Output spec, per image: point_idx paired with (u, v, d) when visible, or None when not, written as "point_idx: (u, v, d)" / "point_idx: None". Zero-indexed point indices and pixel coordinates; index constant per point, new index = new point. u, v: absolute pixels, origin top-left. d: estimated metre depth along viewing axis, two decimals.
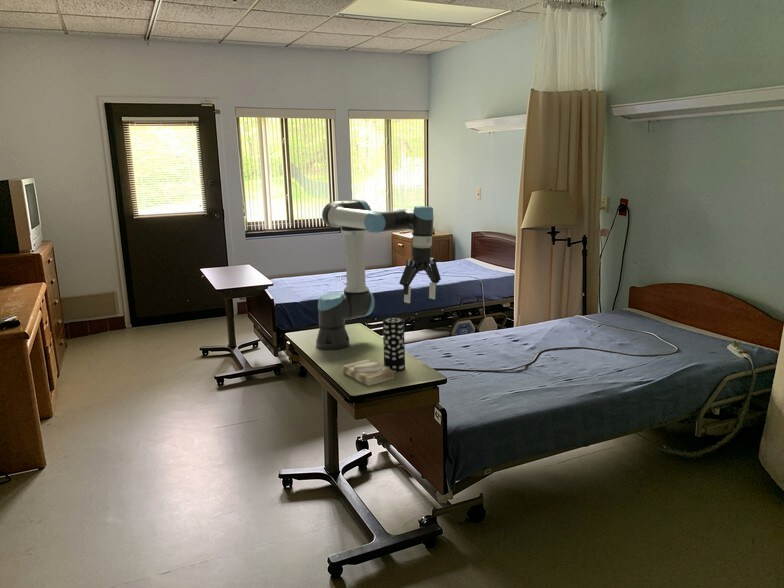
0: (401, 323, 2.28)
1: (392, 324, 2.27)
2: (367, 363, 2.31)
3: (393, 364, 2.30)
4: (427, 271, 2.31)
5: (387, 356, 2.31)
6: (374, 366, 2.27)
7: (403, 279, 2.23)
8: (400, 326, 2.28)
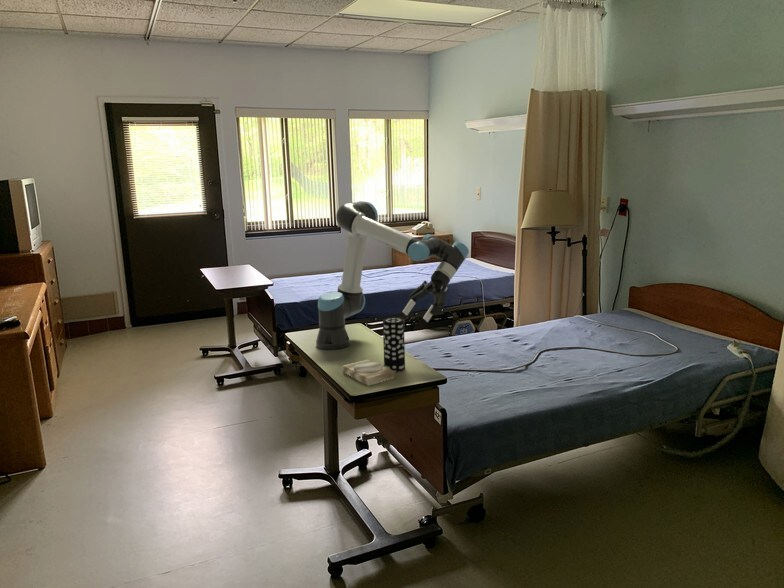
0: (401, 323, 2.28)
1: (392, 324, 2.27)
2: (367, 363, 2.31)
3: (393, 364, 2.30)
4: (424, 293, 2.42)
5: (387, 356, 2.31)
6: (374, 366, 2.27)
7: (442, 302, 2.32)
8: (400, 326, 2.28)
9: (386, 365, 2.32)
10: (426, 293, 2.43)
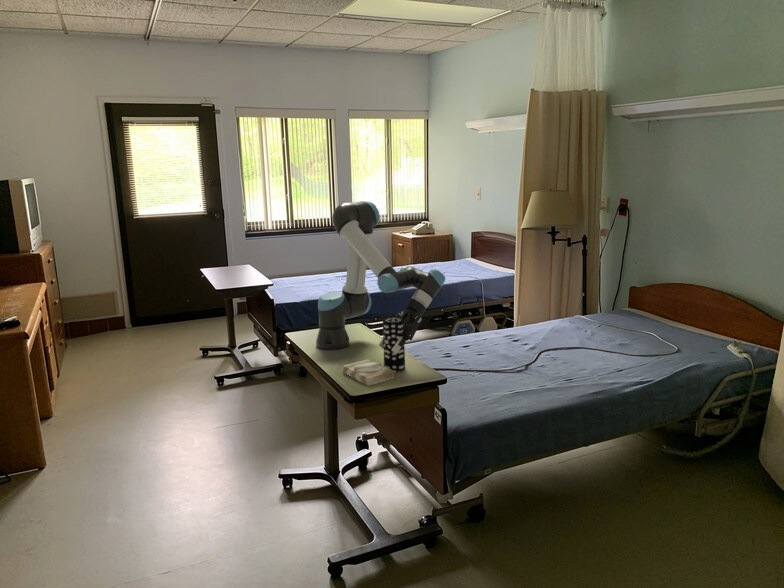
0: (401, 323, 2.28)
1: (392, 324, 2.27)
2: (367, 363, 2.31)
3: (393, 364, 2.30)
4: None
5: (387, 356, 2.31)
6: (374, 366, 2.27)
7: (412, 334, 2.28)
8: (400, 325, 2.28)
9: (386, 365, 2.32)
10: None
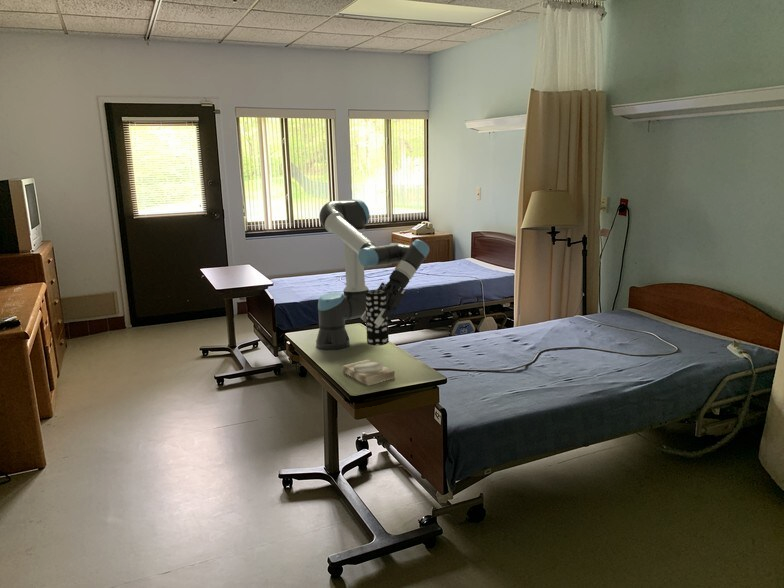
0: (384, 294, 2.21)
1: (375, 295, 2.19)
2: (367, 363, 2.31)
3: (376, 337, 2.23)
4: None
5: (370, 329, 2.23)
6: (374, 366, 2.27)
7: (395, 306, 2.20)
8: (383, 297, 2.20)
9: (369, 338, 2.24)
10: None
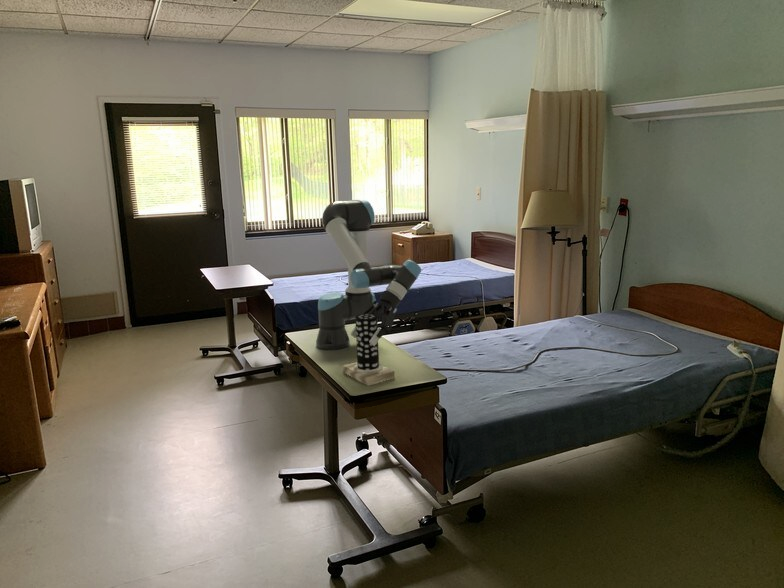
0: (374, 319, 2.21)
1: (364, 320, 2.19)
2: None
3: (366, 362, 2.23)
4: None
5: (360, 354, 2.23)
6: None
7: (390, 325, 2.19)
8: (373, 322, 2.20)
9: (359, 363, 2.24)
10: (375, 314, 2.29)
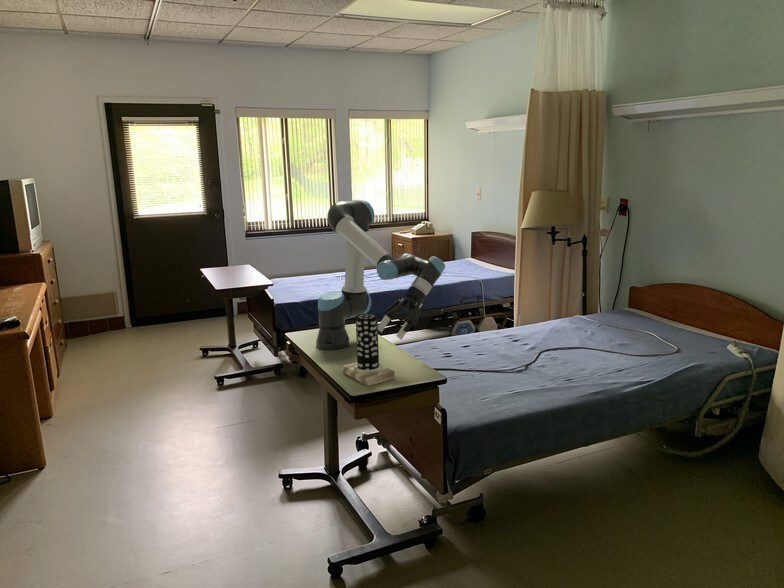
0: (374, 319, 2.21)
1: (365, 320, 2.19)
2: None
3: (366, 362, 2.23)
4: (399, 309, 2.36)
5: (360, 354, 2.23)
6: None
7: (416, 319, 2.25)
8: (373, 322, 2.20)
9: (359, 363, 2.24)
10: (401, 309, 2.36)
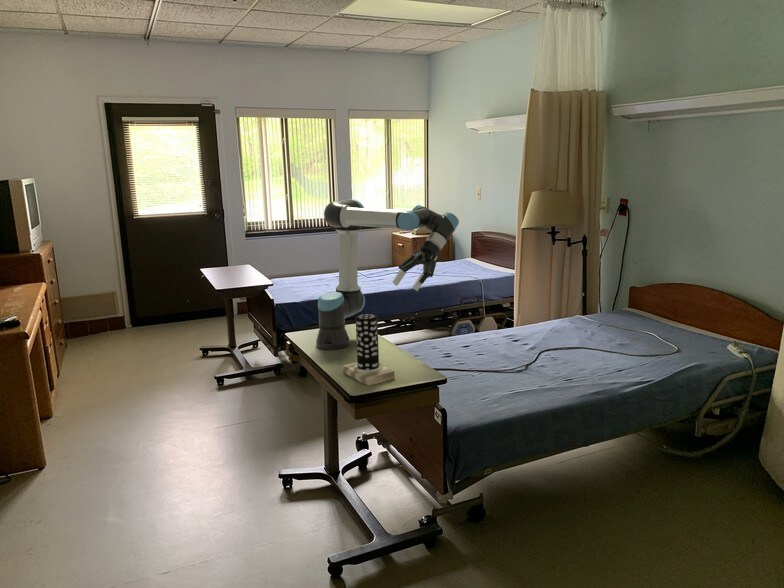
0: (374, 319, 2.21)
1: (365, 320, 2.19)
2: None
3: (366, 362, 2.23)
4: (414, 263, 2.42)
5: (360, 354, 2.23)
6: None
7: (432, 271, 2.31)
8: (373, 322, 2.20)
9: (359, 363, 2.24)
10: (416, 263, 2.42)
